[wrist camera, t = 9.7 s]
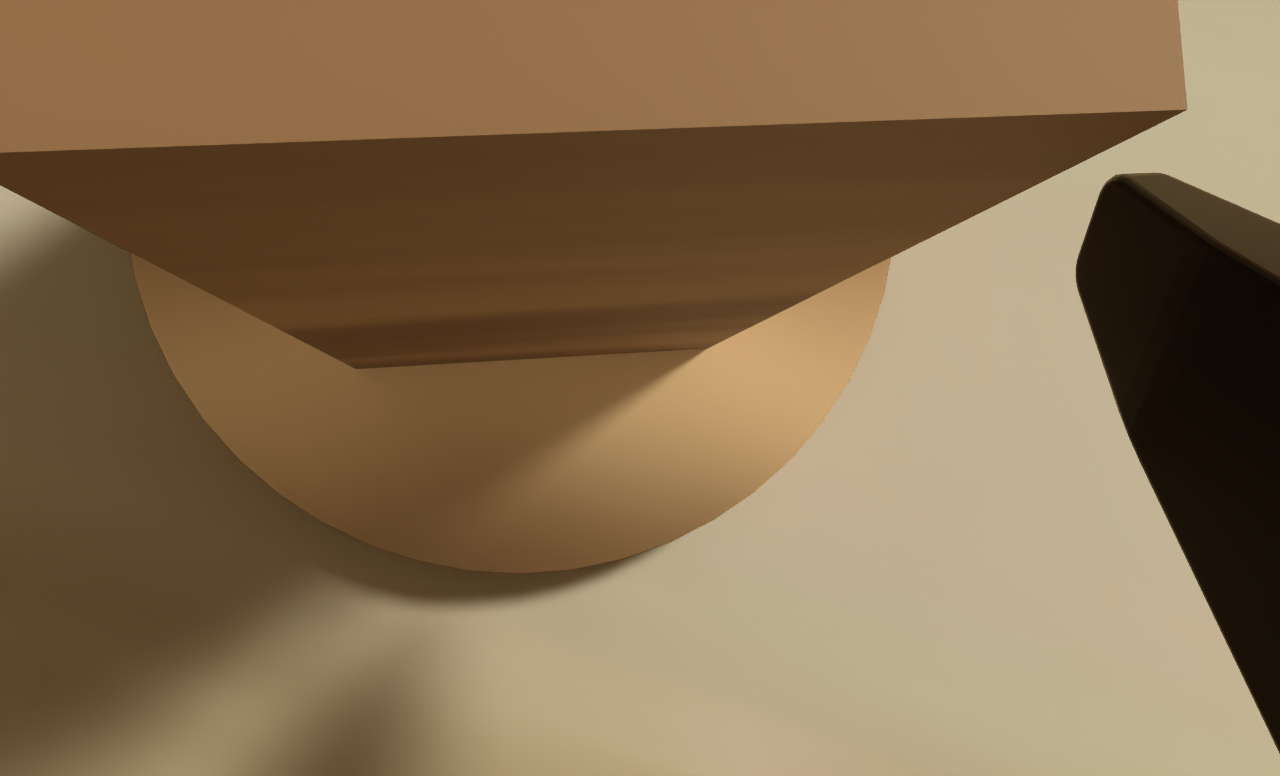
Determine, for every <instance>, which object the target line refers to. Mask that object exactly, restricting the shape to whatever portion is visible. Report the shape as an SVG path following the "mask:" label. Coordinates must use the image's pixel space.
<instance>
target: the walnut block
mask: <svg viewBox="0 0 1280 776" xmlns="http://www.w3.org/2000/svg"><path fill="white" fill-rule="evenodd" d="M1185 110H1187V101H1186V90H1185V78H1184V67H1183V56H1182V45H1181V33H1180V22H1179V11H1178V0H0V185H1V186H3V187H5V188H7V189H9V190H11V191H13V192H14V193H16V194H18V195H20V196H22V197H24V198H26V199H28V200H30V201H32V202H34V203H36V204H38V205H40V206H42V207H43V208H45V209H47V210H49V211H51V212H53V213H55V214H57V215H59V216H61V217H63V218H65V219H67V220H69V221H71V222H72V223H74V224H76V225H78V226H80V227H82V228H84V229H86V230H88V231H90V232H92V233H94V234H96V235H98V236H100V237H101V238H103V239H105V240H107V241H109V242H111V243H113V244H115V245H117V246H119V247H121V248H123V249H125V250H127V251H129V252H130V253H132V254H134V255H136V256H138V257H140V258H142V259H144V260H146V261H148V262H150V263H152V264H154V265H156V266H157V267H159V268H161V269H163V270H165V271H167V272H169V273H171V274H173V275H175V276H177V277H179V278H181V279H183V280H185V281H186V282H188V283H190V284H192V285H194V286H196V287H198V288H200V289H202V290H204V291H206V292H208V293H210V294H212V295H214V296H215V297H217V298H219V299H221V300H223V301H225V302H227V303H229V304H231V305H233V306H235V307H237V308H239V309H241V310H243V311H244V312H246V313H248V314H250V315H252V316H254V317H256V318H258V319H260V320H262V321H264V322H266V323H268V324H270V325H272V326H273V327H275V328H277V329H279V330H281V331H283V332H285V333H287V334H289V335H291V336H293V337H295V338H297V339H299V340H300V341H302V342H304V343H306V344H308V345H310V346H312V347H314V348H316V349H318V350H320V351H322V352H324V353H326V354H328V355H329V356H331V357H333V358H335V359H337V360H339V361H341V362H343V363H345V364H347V365H349V366H351V367H353V368H355V369H367V368H384V367H401V366H418V365H435V364H452V363H469V362H486V361H503V360H520V359H537V358H554V357H571V356H588V355H605V354H622V353H639V352H657V351H674V350H691V349H708V348H710V347H712V346H714V345H716V344H718V343H720V342H722V341H724V340H726V339H728V338H730V337H732V336H734V335H736V334H738V333H740V332H742V331H744V330H746V329H748V328H750V327H752V326H754V325H756V324H758V323H760V322H762V321H764V320H766V319H768V318H770V317H772V316H774V315H776V314H778V313H780V312H782V311H784V310H786V309H788V308H790V307H792V306H794V305H796V304H798V303H800V302H802V301H804V300H806V299H808V298H810V297H812V296H814V295H816V294H818V293H820V292H822V291H824V290H826V289H828V288H830V287H832V286H834V285H836V284H838V283H840V282H842V281H844V280H846V279H848V278H850V277H852V276H854V275H856V274H858V273H860V272H862V271H864V270H866V269H868V268H870V267H872V266H874V265H876V264H878V263H880V262H882V261H884V260H886V259H888V258H890V257H892V256H894V255H896V254H898V253H900V252H902V251H904V250H906V249H908V248H910V247H912V246H914V245H916V244H918V243H920V242H922V241H925V240H927V239H929V238H931V237H933V236H935V235H937V234H939V233H941V232H943V231H945V230H947V229H949V228H951V227H953V226H955V225H957V224H959V223H961V222H963V221H965V220H967V219H969V218H971V217H973V216H975V215H977V214H979V213H981V212H983V211H985V210H987V209H989V208H991V207H993V206H995V205H997V204H999V203H1001V202H1003V201H1005V200H1007V199H1009V198H1011V197H1013V196H1015V195H1017V194H1019V193H1021V192H1023V191H1025V190H1027V189H1029V188H1031V187H1033V186H1035V185H1037V184H1039V183H1041V182H1043V181H1045V180H1047V179H1049V178H1051V177H1053V176H1055V175H1057V174H1059V173H1061V172H1063V171H1065V170H1067V169H1069V168H1071V167H1073V166H1075V165H1077V164H1079V163H1081V162H1083V161H1085V160H1087V159H1089V158H1091V157H1093V156H1095V155H1097V154H1099V153H1101V152H1103V151H1105V150H1107V149H1109V148H1111V147H1113V146H1115V145H1117V144H1119V143H1121V142H1123V141H1125V140H1127V139H1129V138H1131V137H1133V136H1135V135H1137V134H1139V133H1141V132H1143V131H1145V130H1147V129H1149V128H1151V127H1153V126H1155V125H1157V124H1159V123H1161V122H1163V121H1165V120H1167V119H1169V118H1171V117H1173V116H1175V115H1177V114H1179V113H1181V112H1183V111H1185Z"/></svg>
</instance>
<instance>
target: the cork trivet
mask: <svg viewBox="0 0 1280 776" xmlns="http://www.w3.org/2000/svg"><path fill="white" fill-rule="evenodd" d="M130 255H131V260H132V265H133V271H134V276H135V281H136V284H137V287H138V290H139V293H140V296H141V299H142V302H143V305H144V308H145V311H146V314H147V317H148V320H149V323H150V326H151V329H152V331H153V333H154V335H155V337H156V339H157V341H158V343H159V345H160V347H161V349H162V351H163V353H164V356H165V358H166V360H167V362H168V364H169V366H170V368H171V370H172V372H173V374H174V376H175V377H176V379H177V380H178V382H179V383H180V385H181V386H182V388H183V389H184V391H185V392H186V394H187V395H188V397H189V398H190V400H191V401H192V403H193V404H194V406H195V407H196V409H197V410H198V412H199V413H200V415H201V416H202V418H203V419H204V420H205V422H206V423H207V424H208V425H209V426H210V427H211V428H212V429H213V431H214V432H215V433H216V434H217V435H218V436H219V437H220V438H221V440H222V441H223V442H224V443H225V444H226V445H227V446H228V448H229V449H230V450H231V451H232V452H233V453H234V454H235V455H236V457H237V458H238V459H239V460H240V461H242V462H243V463H244V464H245V465H246V466H247V467H249V468H250V469H251V470H252V471H253V472H254V473H255V474H257V475H258V476H259V477H260V478H261V479H262V480H264V481H265V482H266V483H267V484H268V485H269V486H270V487H272V488H273V489H274V490H275V491H276V492H277V493H279V494H280V495H282V496H283V497H285V498H286V499H288V500H289V501H291V502H292V503H294V504H295V505H297V506H299V507H300V508H302V509H303V510H305V511H306V512H308V513H309V514H311V515H312V516H314V517H315V518H317V519H318V520H320V521H321V522H323V523H325V524H327V525H329V526H331V527H334V528H336V529H338V530H340V531H342V532H344V533H346V534H348V535H350V536H352V537H354V538H356V539H358V540H361V541H363V542H365V543H367V544H369V545H372V546H375V547H378V548H381V549H384V550H387V551H390V552H393V553H396V554H399V555H402V556H405V557H408V558H411V559H414V560H417V561H422V562H427V563H432V564H438V565H443V566H448V567H454V568H459V569H464V570H469V571H487V572H505V573H533V572H546V571H559V570H572V569H577V568H582V567H587V566H591V565H596V564H601V563H606V562H610V561H615V560H620V559H623V558H626V557H629V556H632V555H635V554H638V553H640V552H643V551H646V550H649V549H652V548H655V547H657V546H660V545H663V544H666V543H669V542H671V541H673V540H675V539H677V538H679V537H681V536H683V535H685V534H687V533H689V532H691V531H693V530H695V529H697V528H698V527H700V526H702V525H704V524H706V523H708V522H710V521H712V520H714V519H716V518H717V517H718V516H720V515H721V514H723V513H724V512H726V511H727V510H729V509H730V508H732V507H733V506H734V505H736V504H737V503H739V502H740V501H742V500H743V499H745V498H746V497H748V496H749V495H750V494H752V493H753V492H755V491H756V490H757V489H758V488H759V487H760V486H761V485H763V484H764V483H765V482H766V481H767V480H768V479H769V478H770V477H771V476H773V475H774V474H775V473H776V472H777V471H778V470H779V469H780V468H781V467H783V466H784V465H785V464H786V463H787V462H788V461H789V460H790V459H791V458H792V457H793V456H794V455H795V454H796V452H797V451H798V450H799V449H800V448H801V447H802V445H803V444H804V443H805V442H806V441H807V439H808V438H809V437H810V436H811V435H812V434H813V432H814V431H815V430H816V429H817V428H818V427H819V425H820V424H821V423H822V422H823V420H824V419H825V417H826V416H827V414H828V413H829V411H830V410H831V408H832V406H833V405H834V403H835V402H836V400H837V399H838V397H839V396H840V394H841V393H842V391H843V389H844V388H845V386H846V385H847V383H848V382H849V380H850V378H851V376H852V373H853V371H854V369H855V367H856V365H857V363H858V361H859V359H860V357H861V355H862V352H863V350H864V348H865V346H866V344H867V342H868V340H869V338H870V335H871V332H872V328H873V325H874V322H875V319H876V316H877V313H878V310H879V307H880V304H881V301H882V297H883V294H884V291H885V286H886V280H887V275H888V269H889V264H890V259H891V257H890V258H888V259H886V260H884V261H882V262H880V263H878V264H876V265H874V266H872V267H870V268H868V269H866V270H864V271H862V272H860V273H858V274H856V275H854V276H852V277H850V278H848V279H846V280H844V281H842V282H840V283H838V284H836V285H834V286H832V287H830V288H828V289H826V290H824V291H822V292H820V293H818V294H816V295H814V296H812V297H810V298H808V299H806V300H804V301H802V302H800V303H798V304H796V305H794V306H792V307H790V308H788V309H786V310H784V311H782V312H780V313H778V314H776V315H774V316H772V317H770V318H768V319H766V320H764V321H762V322H760V323H758V324H756V325H754V326H752V327H750V328H748V329H746V330H744V331H742V332H740V333H738V334H736V335H734V336H732V337H730V338H728V339H726V340H724V341H722V342H720V343H718V344H716V345H714V346H712V347H710V348H708V349H691V350H674V351H657V352H639V353H622V354H605V355H588V356H571V357H554V358H537V359H520V360H503V361H486V362H469V363H452V364H435V365H418V366H401V367H384V368H367V369H355V368H353V367H351V366H349V365H347V364H345V363H343V362H341V361H339V360H337V359H335V358H333V357H331V356H329V355H328V354H326V353H324V352H322V351H320V350H318V349H316V348H314V347H312V346H310V345H308V344H306V343H304V342H302V341H300V340H299V339H297V338H295V337H293V336H291V335H289V334H287V333H285V332H283V331H281V330H279V329H277V328H275V327H273V326H272V325H270V324H268V323H266V322H264V321H262V320H260V319H258V318H256V317H254V316H252V315H250V314H248V313H246V312H244V311H243V310H241V309H239V308H237V307H235V306H233V305H231V304H229V303H227V302H225V301H223V300H221V299H219V298H217V297H215V296H214V295H212V294H210V293H208V292H206V291H204V290H202V289H200V288H198V287H196V286H194V285H192V284H190V283H188V282H186V281H185V280H183V279H181V278H179V277H177V276H175V275H173V274H171V273H169V272H167V271H165V270H163V269H161V268H159V267H157V266H156V265H154V264H152V263H150V262H148V261H146V260H144V259H142V258H140V257H138V256H136V255H134V254H132V253H130Z"/></svg>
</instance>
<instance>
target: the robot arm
mask: <svg viewBox="0 0 1280 776" xmlns="http://www.w3.org/2000/svg"><path fill="white" fill-rule="evenodd" d="M1076 283H1077V288H1078V292H1079V295H1080V298H1081V301H1082V304H1083V307H1084V310H1085V313H1086V315H1087V318H1088V321H1089V324H1090V327H1091V330H1092V333H1093V336H1094V339H1095V342H1096V345H1097V348H1098V351H1099V354H1100V357H1101V360H1102V363H1103V366H1104V369H1105V372H1106V374H1107V377H1108V380H1109V383H1110V386H1111V389H1112V392H1113V395H1114V398H1115V401H1116V404H1117V407H1118V410H1119V413H1120V415H1121V418H1122V420H1123V423H1124V426H1125V428H1126V431H1127V434H1128V436H1129V438H1130V441H1131V443H1132V445H1133V447H1134V450H1135V452H1136V454H1137V456H1138V459H1139V461H1140V463H1141V465H1142V467H1143V469H1144V471H1145V473H1146V476H1147V478H1148V480H1149V482H1150V484H1151V486H1152V488H1153V490H1154V492H1155V494H1156V496H1157V498H1158V501H1159V503H1160V505H1161V507H1162V509H1163V511H1164V513H1165V515H1166V517H1167V519H1168V521H1169V524H1170V526H1171V528H1172V530H1173V532H1174V534H1175V536H1176V538H1177V540H1178V542H1179V544H1180V547H1181V549H1182V551H1183V553H1184V555H1185V557H1186V559H1187V561H1188V563H1189V565H1190V567H1191V569H1192V572H1193V574H1194V576H1195V578H1196V580H1197V582H1198V584H1199V586H1200V588H1201V590H1202V592H1203V595H1204V597H1205V599H1206V601H1207V603H1208V605H1209V607H1210V609H1211V611H1212V613H1213V615H1214V618H1215V620H1216V622H1217V624H1218V626H1219V628H1220V630H1221V632H1222V634H1223V636H1224V638H1225V640H1226V643H1227V645H1228V647H1229V649H1230V651H1231V653H1232V655H1233V657H1234V659H1235V661H1236V663H1237V666H1238V668H1239V670H1240V672H1241V674H1242V676H1243V678H1244V680H1245V682H1246V684H1247V686H1248V688H1249V691H1250V693H1251V695H1252V697H1253V699H1254V701H1255V703H1256V705H1257V707H1258V709H1259V711H1260V714H1261V716H1262V718H1263V720H1264V722H1265V724H1266V726H1267V728H1268V730H1269V732H1270V734H1271V737H1272V739H1273V741H1274V743H1275V745H1276V747H1277V749H1278V751H1279V753H1280V224H1279V223H1277V222H1274V221H1272V220H1270V219H1267V218H1265V217H1263V216H1261V215H1258V214H1256V213H1254V212H1251V211H1249V210H1247V209H1244V208H1242V207H1240V206H1238V205H1235V204H1233V203H1231V202H1228V201H1226V200H1224V199H1221V198H1219V197H1217V196H1215V195H1212V194H1210V193H1208V192H1205V191H1203V190H1201V189H1198V188H1196V187H1194V186H1192V185H1189V184H1187V183H1185V182H1182V181H1180V180H1178V179H1175V178H1173V177H1171V176H1169V175H1166V174H1162V173H1135V174H1119V175H1115V176H1114V177H1112V178H1111V179H1109V180H1108V181H1107V182H1106V183H1105V185H1104V186H1103V188H1102V190H1101V192H1100V194H1099V197H1098V200H1097V203H1096V206H1095V209H1094V211H1093V214H1092V217H1091V220H1090V223H1089V226H1088V229H1087V232H1086V235H1085V238H1084V241H1083V244H1082V247H1081V250H1080V253H1079V255H1078V259H1077V265H1076Z"/></svg>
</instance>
